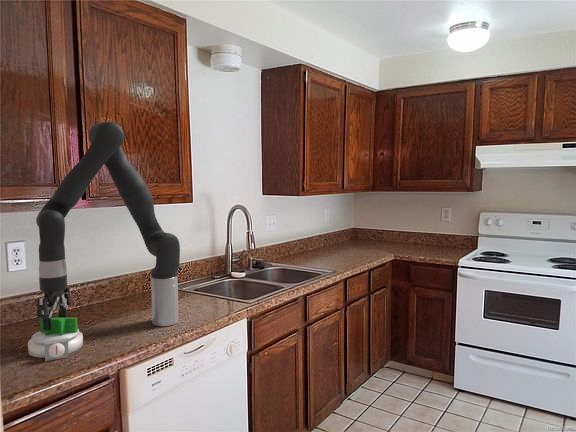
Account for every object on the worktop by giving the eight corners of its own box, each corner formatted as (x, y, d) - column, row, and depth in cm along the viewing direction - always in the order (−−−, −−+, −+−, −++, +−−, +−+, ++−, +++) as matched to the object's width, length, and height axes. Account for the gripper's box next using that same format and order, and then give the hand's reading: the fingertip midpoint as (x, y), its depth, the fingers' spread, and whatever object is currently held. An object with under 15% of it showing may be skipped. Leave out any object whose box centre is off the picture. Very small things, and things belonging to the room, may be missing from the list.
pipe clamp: (35, 335, 132) (34, 321, 131) (42, 331, 135) (41, 317, 135) (71, 335, 132) (70, 321, 131) (77, 331, 135) (77, 317, 135)
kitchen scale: (29, 344, 137) (28, 328, 136) (81, 335, 144) (80, 321, 143) (27, 365, 121) (26, 348, 121) (85, 354, 128) (84, 338, 128)
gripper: (52, 279, 125) (54, 333, 126) (76, 269, 139) (79, 318, 140) (26, 279, 125) (29, 333, 126) (53, 269, 139) (56, 317, 140)
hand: (55, 325), depth 133 cm, fingers open, 8 cm apart
